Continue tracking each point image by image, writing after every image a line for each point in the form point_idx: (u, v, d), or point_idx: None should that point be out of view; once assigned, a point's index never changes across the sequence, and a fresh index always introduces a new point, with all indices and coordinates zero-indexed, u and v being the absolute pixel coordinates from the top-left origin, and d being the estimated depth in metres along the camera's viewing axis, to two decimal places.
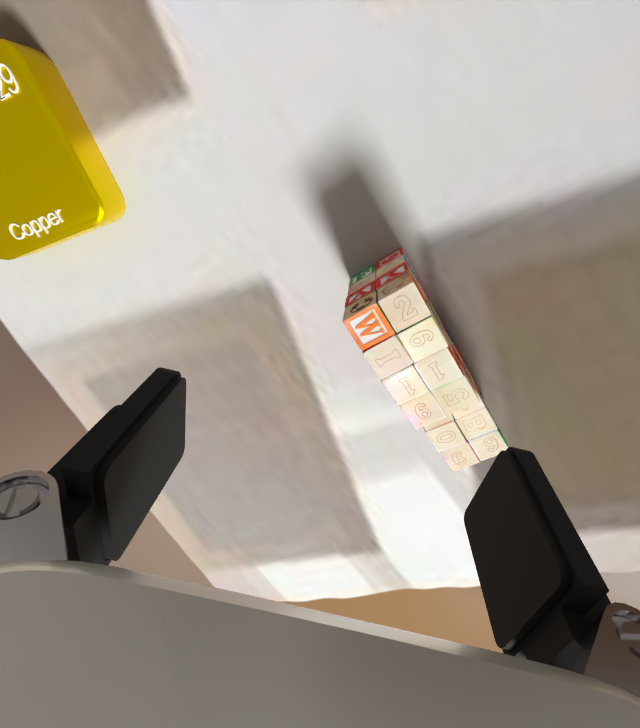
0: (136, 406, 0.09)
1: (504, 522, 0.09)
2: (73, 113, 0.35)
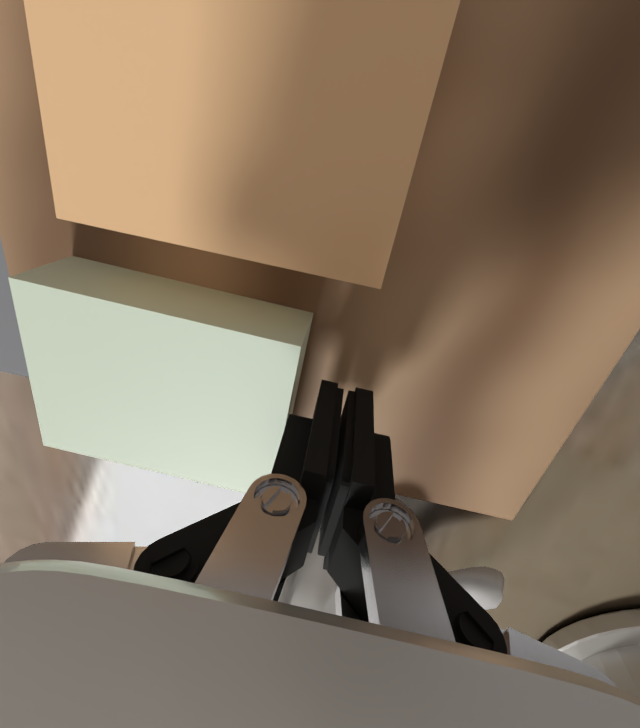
0: (326, 416, 0.10)
1: (338, 450, 0.11)
2: None
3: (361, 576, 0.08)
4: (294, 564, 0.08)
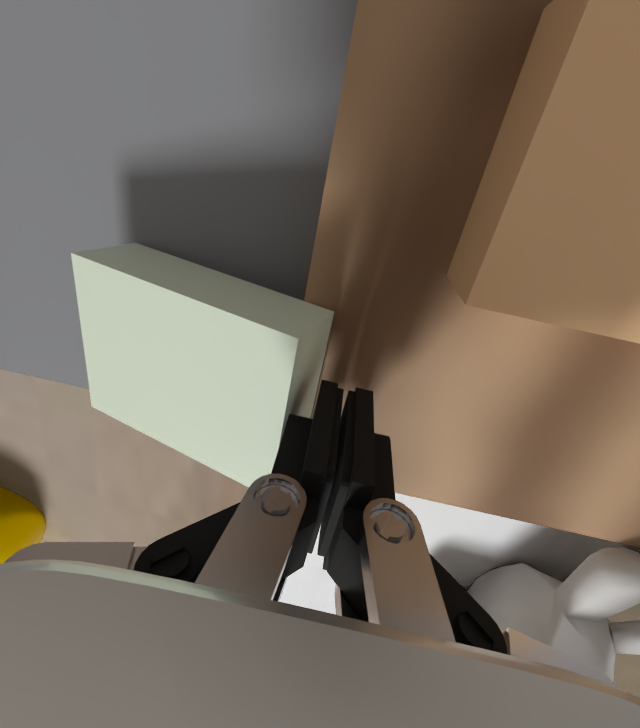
0: (326, 416, 0.10)
1: (337, 450, 0.11)
2: None
3: (361, 576, 0.08)
4: (294, 564, 0.08)
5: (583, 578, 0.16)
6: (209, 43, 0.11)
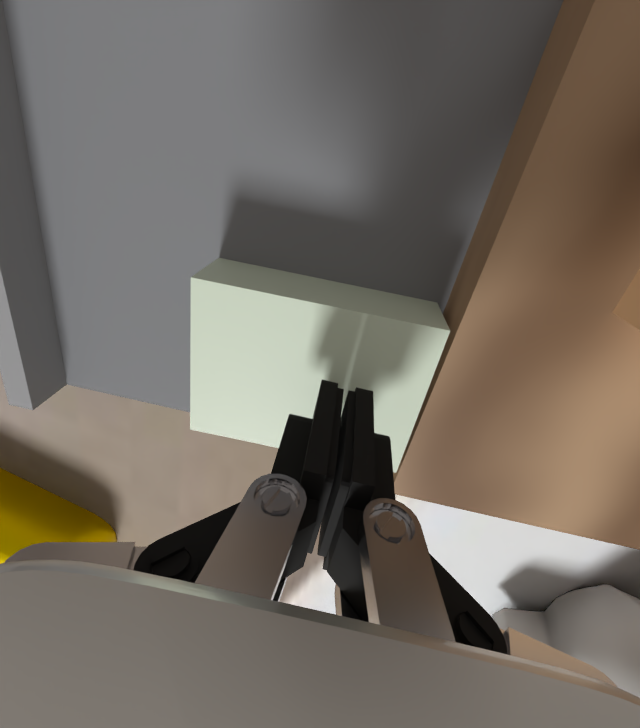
0: (326, 416, 0.10)
1: (337, 450, 0.11)
2: None
3: (361, 576, 0.08)
4: (294, 564, 0.08)
5: None
6: (377, 75, 0.11)
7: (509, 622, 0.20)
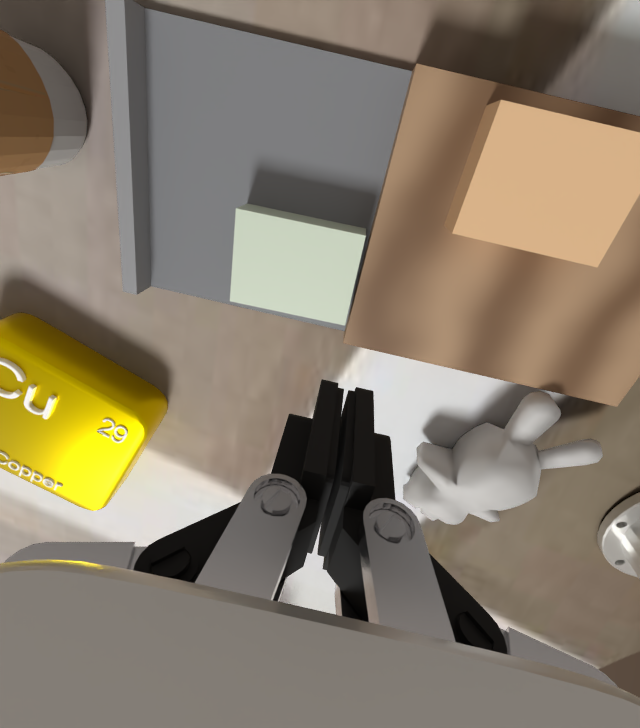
0: (326, 416, 0.10)
1: (337, 450, 0.11)
2: (146, 444, 0.36)
3: (361, 576, 0.08)
4: (294, 564, 0.08)
5: (519, 414, 0.28)
6: (328, 108, 0.22)
7: (425, 448, 0.32)
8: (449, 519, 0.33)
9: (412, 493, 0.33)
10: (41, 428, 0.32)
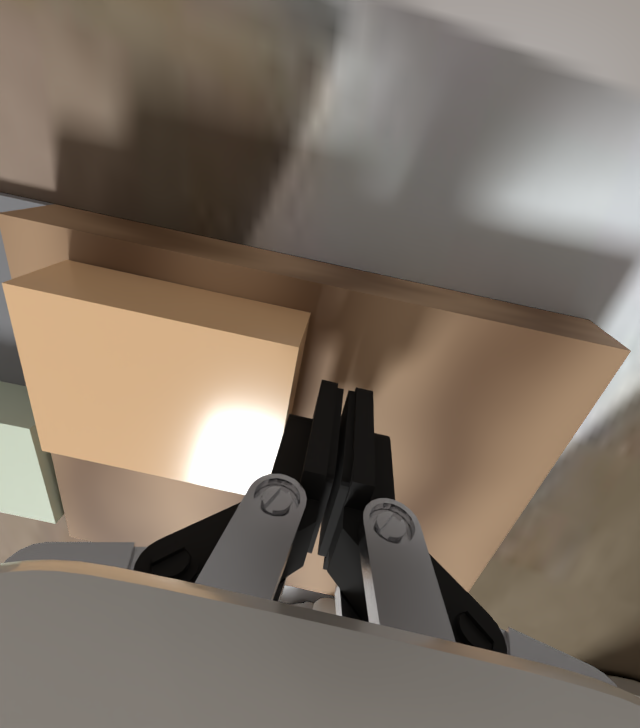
0: (326, 416, 0.10)
1: (337, 450, 0.11)
2: None
3: (361, 576, 0.08)
4: (294, 565, 0.08)
5: None
6: None
7: None
8: None
9: None
10: None
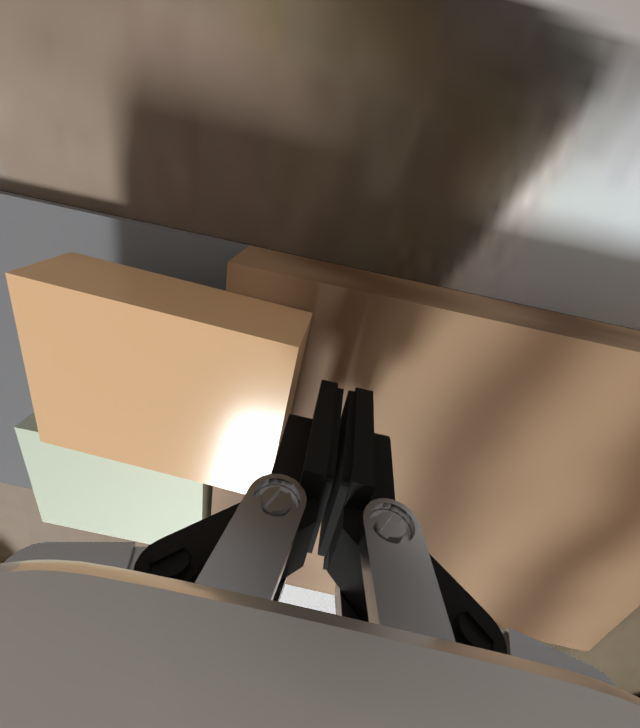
0: (326, 416, 0.10)
1: (337, 450, 0.11)
2: None
3: (361, 576, 0.08)
4: (294, 564, 0.08)
5: None
6: None
7: None
8: None
9: None
10: None
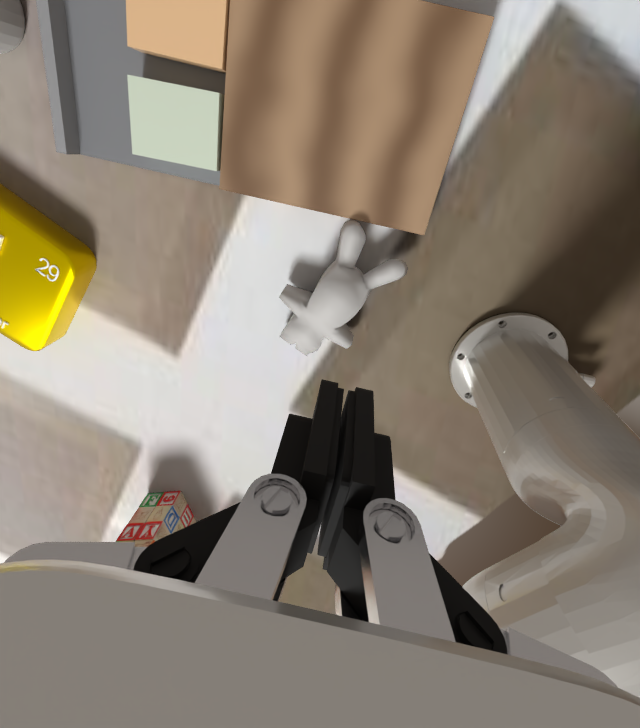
0: (326, 416, 0.10)
1: (337, 450, 0.11)
2: (78, 296, 0.45)
3: (361, 576, 0.08)
4: (294, 564, 0.08)
5: (340, 241, 0.37)
6: None
7: (287, 287, 0.41)
8: (311, 345, 0.42)
9: (284, 329, 0.43)
10: None
